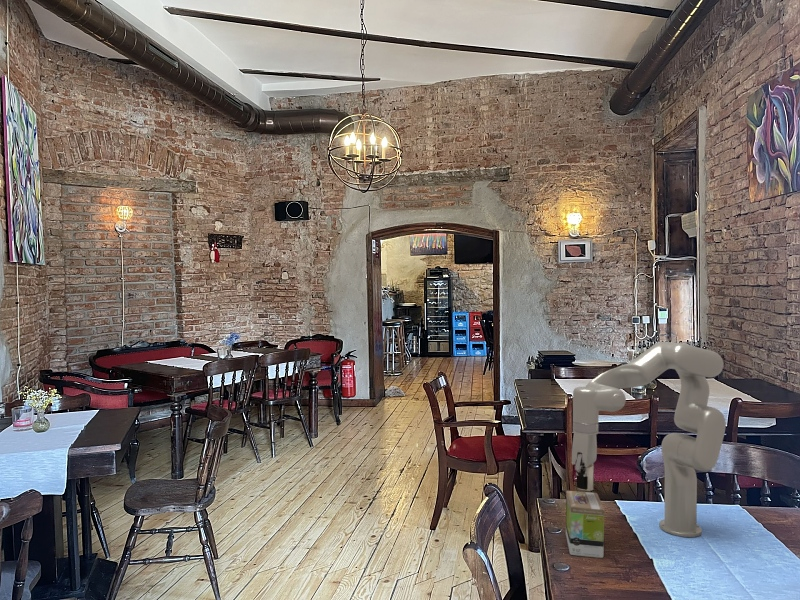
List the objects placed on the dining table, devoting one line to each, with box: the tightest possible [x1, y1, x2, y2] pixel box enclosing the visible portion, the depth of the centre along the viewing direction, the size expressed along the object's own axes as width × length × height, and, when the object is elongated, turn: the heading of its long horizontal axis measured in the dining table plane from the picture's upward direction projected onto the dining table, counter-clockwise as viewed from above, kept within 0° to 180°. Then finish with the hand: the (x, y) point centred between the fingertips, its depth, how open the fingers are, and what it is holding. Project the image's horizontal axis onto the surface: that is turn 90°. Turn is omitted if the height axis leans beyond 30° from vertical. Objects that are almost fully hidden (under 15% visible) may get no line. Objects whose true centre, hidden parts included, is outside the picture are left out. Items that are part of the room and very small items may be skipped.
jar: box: [577, 464, 594, 492], centre depth 173 cm, size 5×5×8 cm
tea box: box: [565, 490, 605, 559], centre depth 173 cm, size 15×10×15 cm, turn 168°
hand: (585, 485), depth 173 cm, fingers closed on jar, 4 cm apart
